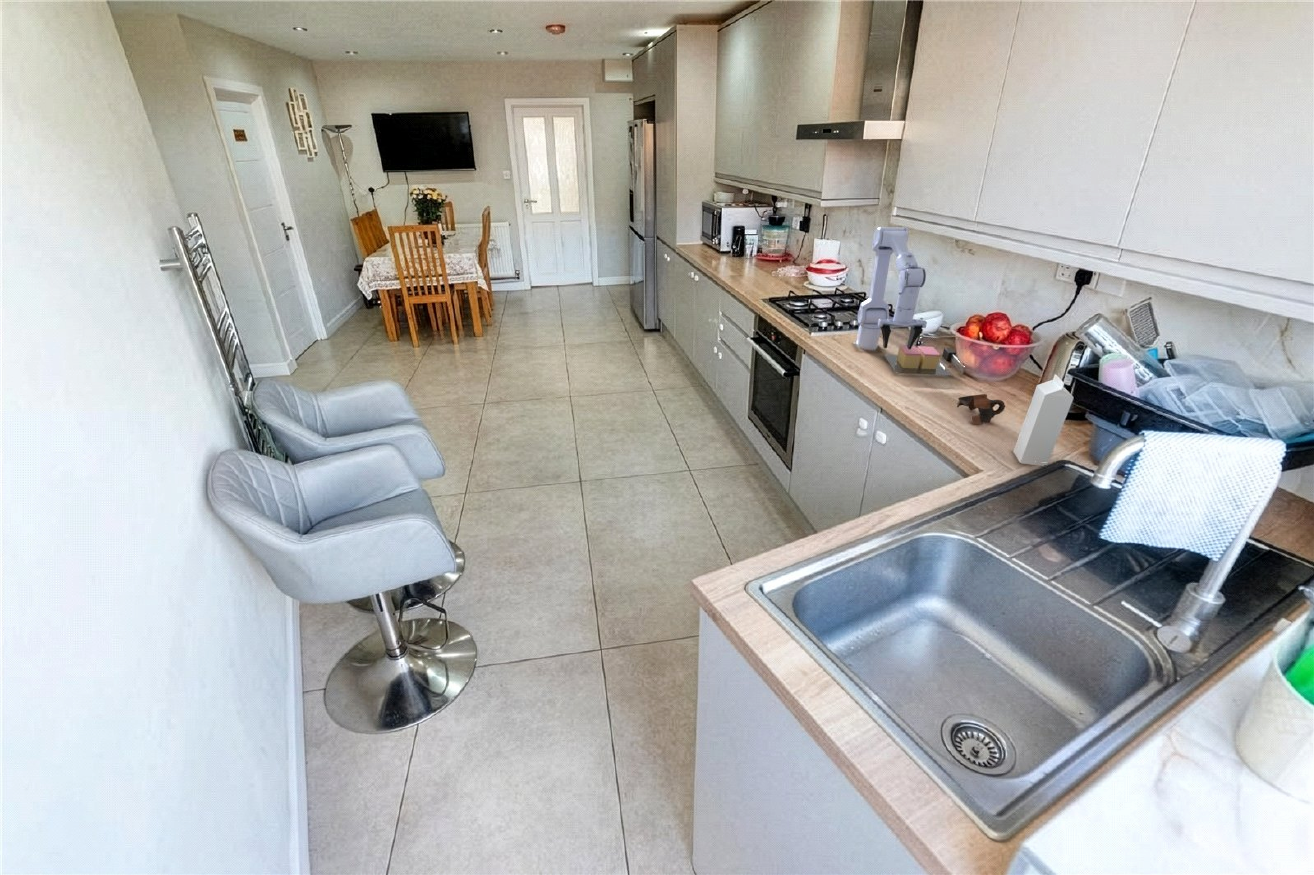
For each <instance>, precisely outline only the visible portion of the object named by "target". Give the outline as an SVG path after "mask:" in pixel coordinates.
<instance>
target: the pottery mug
mask: <svg viewBox="0 0 1314 875" xmlns="http://www.w3.org/2000/svg"><path fill="white" fill-rule="evenodd" d="M957 400H958V402H957V403H956V408H959V407H960V406H961V407H962V406H964V407H967V408H968V409H969V411H975V410H976V409H977V410H978V414H977V415H972V416H971V417H970V418H971V424H973V425H974V424H975V425H976V424H990V423H991V420H992V419H993V418H994V417H995V416H997V415H1000V414H1002V413H1003V412H1004V411H1005V408H1006V405H1005V402H1004V401H1003V400H1001V399H990V398H988V394H987V393H981V394H973V395H964V396H959V397H958V398H957ZM996 405H998V408H997V409H994V407H995V406H996Z"/></svg>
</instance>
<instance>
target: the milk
mask: <svg viewBox="0 0 1314 875" xmlns="http://www.w3.org/2000/svg"><path fill="white" fill-rule="evenodd" d="M1073 401H1074V396H1073V395H1072V394H1071V393H1070V391H1069V390H1067V389H1066V387H1065V382H1064V381H1063V380H1062V379H1061V378H1060V377H1059V376H1058V374H1056V373H1055V374H1054V376H1053V377H1052V379H1050V380H1048V381H1045V382H1042V383H1039V384H1037V385H1036V387H1035V390H1034V393H1033V396H1032V398H1031V401H1030V404H1029V406H1028V409H1027V412H1026V414H1025V417H1024V420H1023V424H1022V426H1021V429H1020V431H1019V435H1018V438H1017V440H1016V443H1015V446H1014V449H1013V454H1014V455H1015V458H1016V459H1017V461H1018V462H1019V464H1022V465H1029V466H1040V467H1045V466H1044V465H1047V466H1048V464H1049V461H1050V459H1051V457H1052V454H1053V451H1054V449H1055V446H1056V443H1057V441H1058V439H1059V437H1060V433H1061V432H1062V428H1063V426H1064V423H1065V421H1066V418H1067V416H1068V414H1069V411H1070V408H1071V406H1072V404H1073ZM1035 461H1036V462H1035ZM1041 462H1048V463H1041Z"/></svg>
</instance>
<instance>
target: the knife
mask: <svg viewBox="0 0 1314 875" xmlns="http://www.w3.org/2000/svg"><path fill="white" fill-rule="evenodd" d="M956 355H957V352H956V351H955V350H954V349H953V348H952V347H944V348H943V352H942V354H941V357H942V358H943V359H944V360H945V361H946V362H950V363H951V365H952V366H953V367H954V368H955V369H956V370H957V371H958V372H959V373H960V374H961V375H964V374H965V371H966V367H965V366H966V365H965V366H961V363H960V361H961V360H960V359H959V358H958V357H957V356H956ZM958 359H959V360H960V361H959V360H958Z"/></svg>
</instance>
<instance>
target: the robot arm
mask: <svg viewBox="0 0 1314 875" xmlns="http://www.w3.org/2000/svg"><path fill="white" fill-rule="evenodd" d="M909 235H910V232H909V228H908V227H906V226H902V227H893V226H891V227H890V226H889V227H887V226H886V227H885V226H884V227H883V226H878V227H877V228H876V230H875V231H874V233H873V238H872V246H871V247H872V249H871V250H872V251H873V252H875V257H874V258H875V259H874V264H873V266H874V267H873V271H872V277H871V285H870V290H869V291H870V292H869V297H868V298H867V299H866V300H864V301H862V302H861V303H860V305H859V309H858V311H857V317H856V318H857V319H856V320H857V323H858V324H859V327H858V330H857V336H856V341H854V342H853V344H854V345H856V346H857V348H859V349H861V350H865V351H875V350H877V349H878V347H879V346H878V345H879V341H880V337H881V335H882V347H883V349H887V348H888V343H889V338H890V336H891V333H892V330H891V327H900V328H909V336H908V341H907V344H906V346H907V348H908V349H911V348H912V346H914V344H915V342H916V340H917V339H918V338H919V337H920V335H921V334H922V333H923V331H924V329H926V328H927V324H928V321H927V320H924V319H915V318H914V316H915V311H916V308H917V303H918V298H919V293H920V290H921V288H923V287H924V285H925V283H926V279H927V273H926V272H927V271H926V268H924V267H921V266H919V264H918V261H917V260H916V257H915V255H914V254H913V252H909V248H908V244H907V243H908V241H909ZM892 254H894V255H895V257H896V258H895V262H894V263H895V266H896V269H897V271H898V286H897V292H898V296H897V301H896V306H895V309H894V314H893V317H890V311H889V310H890V305H889V304H888V302H886V301H885V300H884V298H885V291H886V285H887V281H888V280H887V279H888V274H889V267H890V262H891V256H892Z"/></svg>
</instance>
